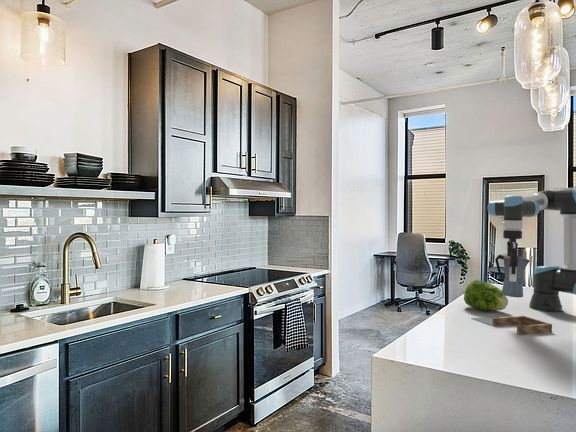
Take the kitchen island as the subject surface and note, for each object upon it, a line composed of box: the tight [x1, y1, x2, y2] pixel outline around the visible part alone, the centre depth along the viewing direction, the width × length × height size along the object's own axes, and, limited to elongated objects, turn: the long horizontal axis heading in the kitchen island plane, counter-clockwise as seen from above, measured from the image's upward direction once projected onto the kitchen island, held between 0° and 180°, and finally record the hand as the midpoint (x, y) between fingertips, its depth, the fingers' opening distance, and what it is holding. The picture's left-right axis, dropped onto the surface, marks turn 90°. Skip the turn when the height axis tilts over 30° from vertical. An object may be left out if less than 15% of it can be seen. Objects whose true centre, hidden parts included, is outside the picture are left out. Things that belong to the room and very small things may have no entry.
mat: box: [471, 315, 499, 326], centre depth 202 cm, size 16×12×1 cm
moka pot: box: [494, 254, 531, 298], centre depth 194 cm, size 10×15×20 cm, turn 41°
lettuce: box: [463, 279, 509, 312], centre depth 223 cm, size 16×21×15 cm
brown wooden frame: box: [491, 315, 553, 336], centre depth 189 cm, size 18×15×4 cm
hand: (511, 279), depth 193 cm, fingers closed on moka pot, 8 cm apart
